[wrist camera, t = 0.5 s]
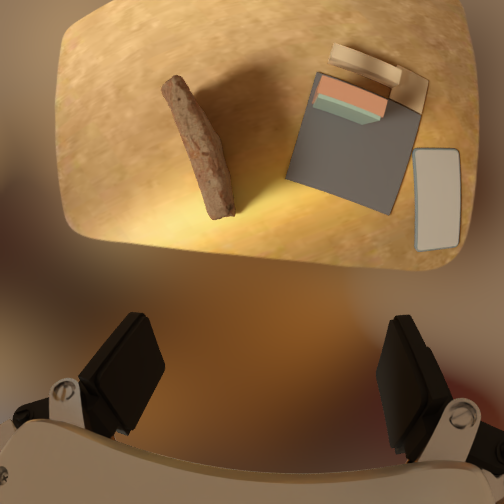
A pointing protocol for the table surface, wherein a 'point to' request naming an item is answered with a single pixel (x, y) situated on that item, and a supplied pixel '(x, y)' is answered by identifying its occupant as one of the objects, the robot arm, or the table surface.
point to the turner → (383, 76)
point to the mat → (354, 153)
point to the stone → (201, 148)
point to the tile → (348, 101)
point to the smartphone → (436, 198)
